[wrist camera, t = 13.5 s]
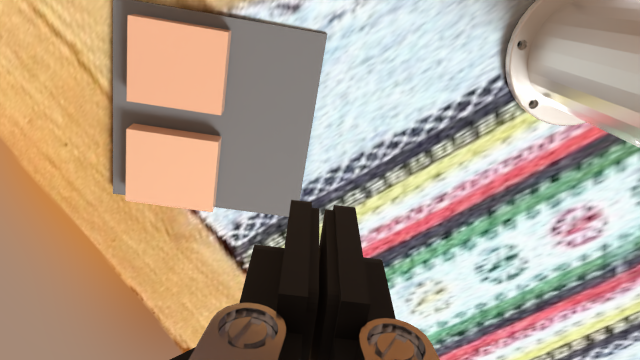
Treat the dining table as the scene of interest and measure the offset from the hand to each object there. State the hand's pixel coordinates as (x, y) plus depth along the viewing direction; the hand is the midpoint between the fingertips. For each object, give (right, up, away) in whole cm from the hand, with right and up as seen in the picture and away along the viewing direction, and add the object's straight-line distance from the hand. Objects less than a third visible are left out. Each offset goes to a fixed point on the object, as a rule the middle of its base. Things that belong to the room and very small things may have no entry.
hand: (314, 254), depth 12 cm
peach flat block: (-9, +2, +31) cm, 33 cm away
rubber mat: (-10, +8, +31) cm, 33 cm away
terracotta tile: (-8, +11, +28) cm, 31 cm away
